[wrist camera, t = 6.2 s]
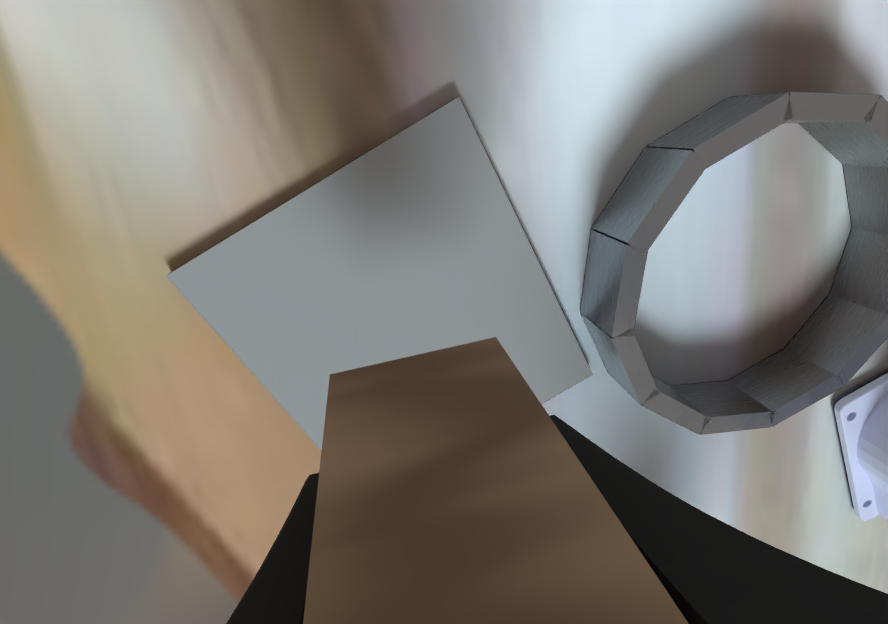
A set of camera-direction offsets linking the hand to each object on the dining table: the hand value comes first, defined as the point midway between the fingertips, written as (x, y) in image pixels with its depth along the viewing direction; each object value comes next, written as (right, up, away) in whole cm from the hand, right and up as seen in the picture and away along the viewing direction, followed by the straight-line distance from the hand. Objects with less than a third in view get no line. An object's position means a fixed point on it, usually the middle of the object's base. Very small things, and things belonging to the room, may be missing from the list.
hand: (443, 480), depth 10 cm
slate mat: (-1, +3, +8) cm, 8 cm away
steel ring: (+12, +6, +9) cm, 16 cm away
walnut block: (0, +1, +2) cm, 2 cm away
